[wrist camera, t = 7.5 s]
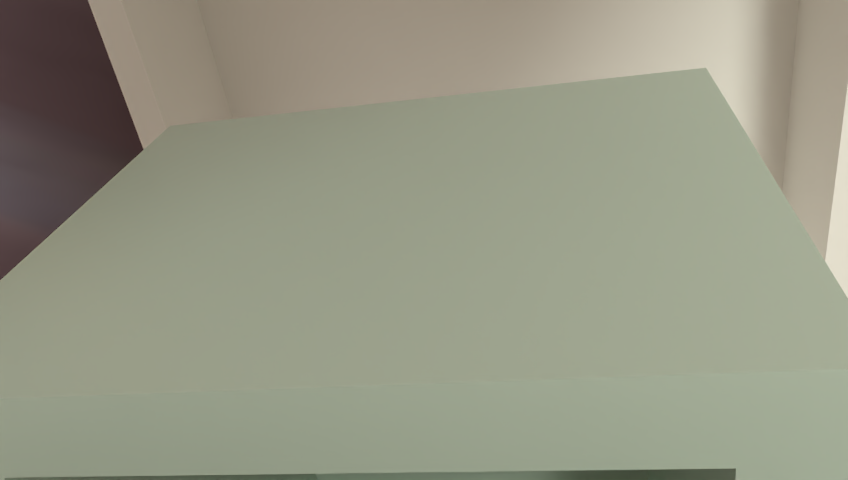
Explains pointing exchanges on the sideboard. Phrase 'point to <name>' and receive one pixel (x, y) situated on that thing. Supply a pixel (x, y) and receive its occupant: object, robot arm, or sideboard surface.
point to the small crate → (434, 301)
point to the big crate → (501, 67)
